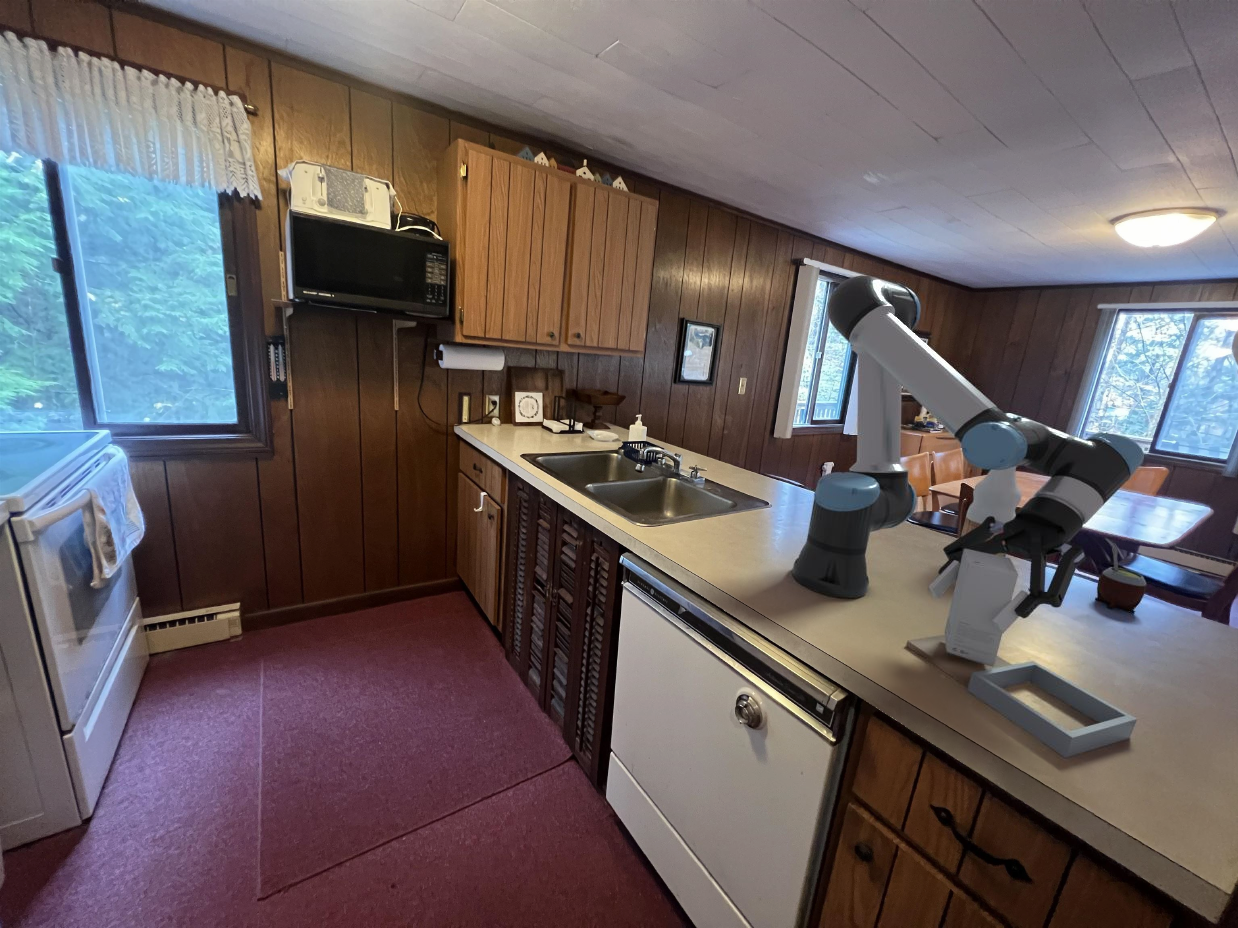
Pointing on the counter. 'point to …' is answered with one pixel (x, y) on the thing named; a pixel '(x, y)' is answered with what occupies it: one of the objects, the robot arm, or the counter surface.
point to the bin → (1066, 743)
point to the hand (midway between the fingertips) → (963, 608)
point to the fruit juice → (994, 500)
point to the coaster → (950, 658)
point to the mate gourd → (1120, 586)
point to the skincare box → (979, 605)
